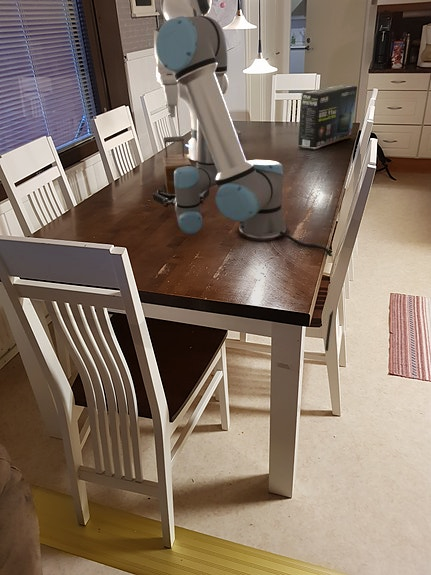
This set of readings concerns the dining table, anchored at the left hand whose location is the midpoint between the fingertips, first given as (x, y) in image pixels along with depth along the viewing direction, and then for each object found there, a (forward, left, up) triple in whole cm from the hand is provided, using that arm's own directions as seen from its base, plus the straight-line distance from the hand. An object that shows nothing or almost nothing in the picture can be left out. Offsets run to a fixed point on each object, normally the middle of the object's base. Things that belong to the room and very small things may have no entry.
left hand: (171, 114), depth 179 cm
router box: (-75, +61, -28) cm, 101 cm away
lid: (+5, +2, -17) cm, 18 cm away
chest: (+5, +2, -28) cm, 29 cm away
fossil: (-78, +5, -28) cm, 83 cm away
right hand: (+21, +7, -22) cm, 31 cm away
